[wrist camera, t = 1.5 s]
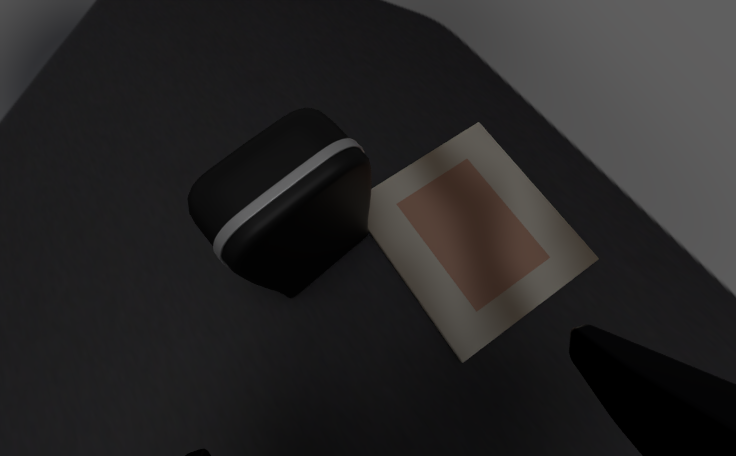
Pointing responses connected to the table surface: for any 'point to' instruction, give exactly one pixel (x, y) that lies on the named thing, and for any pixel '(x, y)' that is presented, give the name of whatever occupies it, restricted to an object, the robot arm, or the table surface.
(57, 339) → the table surface
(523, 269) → the card
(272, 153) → the battery charger
